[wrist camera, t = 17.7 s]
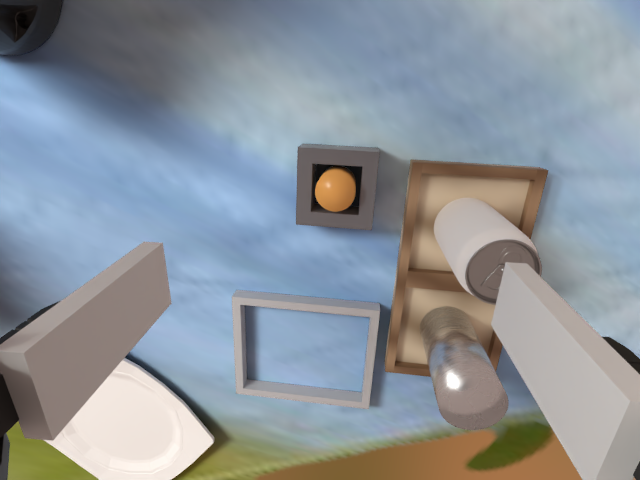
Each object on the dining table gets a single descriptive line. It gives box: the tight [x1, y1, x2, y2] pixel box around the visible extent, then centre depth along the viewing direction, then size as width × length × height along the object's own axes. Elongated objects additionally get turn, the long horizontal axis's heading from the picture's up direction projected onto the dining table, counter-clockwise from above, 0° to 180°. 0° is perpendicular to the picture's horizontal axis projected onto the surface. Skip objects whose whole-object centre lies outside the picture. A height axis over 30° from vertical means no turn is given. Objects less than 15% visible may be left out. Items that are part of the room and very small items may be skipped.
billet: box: [420, 306, 508, 430], centre depth 39 cm, size 6×6×12 cm
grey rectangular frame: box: [232, 290, 380, 409], centre depth 48 cm, size 15×18×2 cm
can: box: [434, 198, 542, 305], centre depth 34 cm, size 6×6×12 cm
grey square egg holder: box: [296, 144, 380, 230], centre depth 39 cm, size 8×8×4 cm
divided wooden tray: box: [385, 160, 548, 377], centre depth 42 cm, size 26×13×2 cm, turn 178°
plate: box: [44, 358, 214, 480], centre depth 56 cm, size 24×24×3 cm
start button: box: [315, 165, 356, 212], centre depth 38 cm, size 4×4×4 cm
